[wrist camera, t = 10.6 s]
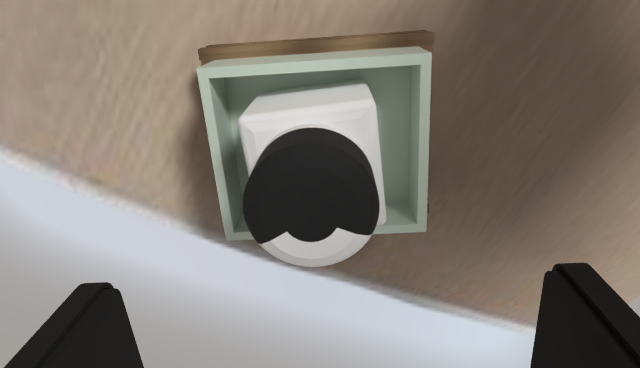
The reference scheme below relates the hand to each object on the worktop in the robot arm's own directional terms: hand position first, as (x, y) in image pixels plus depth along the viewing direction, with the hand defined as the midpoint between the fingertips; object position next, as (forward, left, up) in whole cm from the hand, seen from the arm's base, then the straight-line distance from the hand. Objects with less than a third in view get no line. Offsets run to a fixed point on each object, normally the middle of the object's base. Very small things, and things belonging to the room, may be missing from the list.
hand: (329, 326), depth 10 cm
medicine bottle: (+1, +2, -21) cm, 21 cm away
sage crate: (+1, +2, -21) cm, 21 cm away
